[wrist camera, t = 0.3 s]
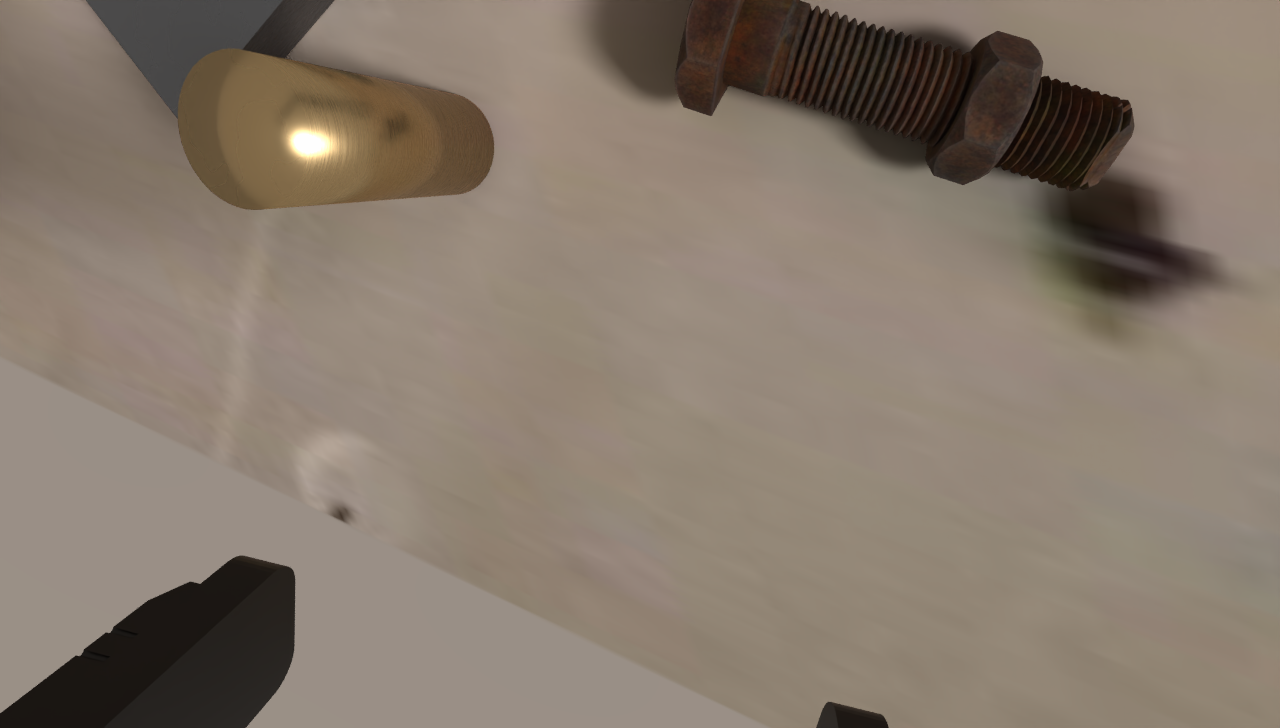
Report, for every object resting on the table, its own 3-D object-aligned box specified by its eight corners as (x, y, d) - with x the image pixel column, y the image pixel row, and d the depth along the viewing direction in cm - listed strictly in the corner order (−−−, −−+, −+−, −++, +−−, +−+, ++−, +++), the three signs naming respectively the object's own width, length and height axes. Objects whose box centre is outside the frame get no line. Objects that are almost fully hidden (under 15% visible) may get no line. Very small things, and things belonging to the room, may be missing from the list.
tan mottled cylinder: (452, 71, 30) (235, 12, 18) (512, 154, 30) (336, 146, 19) (388, 135, 31) (152, 117, 20) (446, 213, 32) (247, 239, 20)
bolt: (1055, 170, 27) (703, 58, 28) (1147, 45, 23) (734, -77, 25) (1069, 255, 23) (662, 121, 25) (1180, 123, 19) (691, -27, 21)
